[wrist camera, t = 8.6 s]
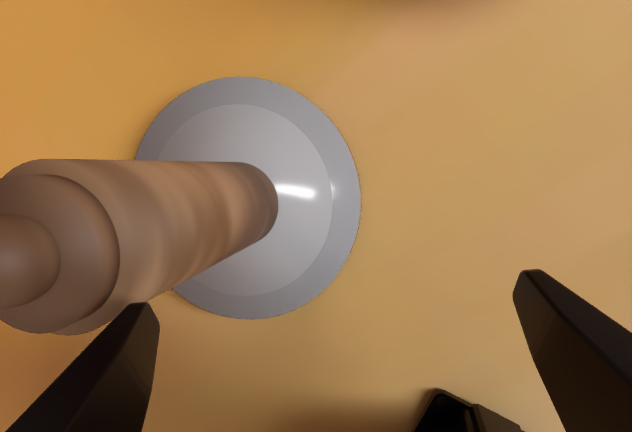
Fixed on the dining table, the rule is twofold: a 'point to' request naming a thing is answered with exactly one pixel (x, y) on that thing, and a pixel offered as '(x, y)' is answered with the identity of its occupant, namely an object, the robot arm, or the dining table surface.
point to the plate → (290, 184)
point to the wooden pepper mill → (118, 234)
